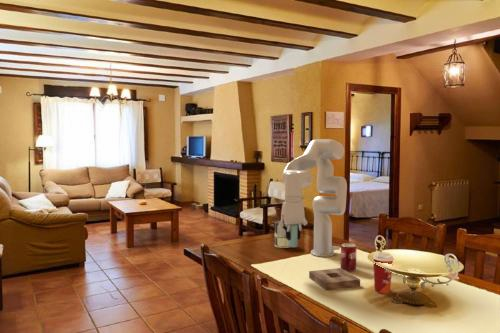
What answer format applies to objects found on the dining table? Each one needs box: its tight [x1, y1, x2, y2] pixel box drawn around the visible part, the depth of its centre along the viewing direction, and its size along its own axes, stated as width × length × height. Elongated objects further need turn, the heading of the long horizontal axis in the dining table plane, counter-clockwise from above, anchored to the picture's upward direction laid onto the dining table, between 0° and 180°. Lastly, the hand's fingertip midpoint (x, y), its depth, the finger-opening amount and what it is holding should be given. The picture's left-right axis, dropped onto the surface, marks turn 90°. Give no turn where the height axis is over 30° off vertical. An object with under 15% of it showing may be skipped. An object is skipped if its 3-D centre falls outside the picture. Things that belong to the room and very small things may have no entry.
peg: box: [289, 224, 299, 248], centre depth 185 cm, size 4×4×10 cm
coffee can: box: [274, 219, 290, 249], centre depth 238 cm, size 10×10×14 cm
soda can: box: [340, 242, 358, 273], centre depth 195 cm, size 7×7×12 cm
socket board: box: [308, 267, 361, 291], centre depth 178 cm, size 16×16×3 cm
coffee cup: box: [372, 252, 395, 294], centre depth 168 cm, size 8×8×15 cm
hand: (293, 238), depth 185 cm, fingers closed on peg, 4 cm apart
